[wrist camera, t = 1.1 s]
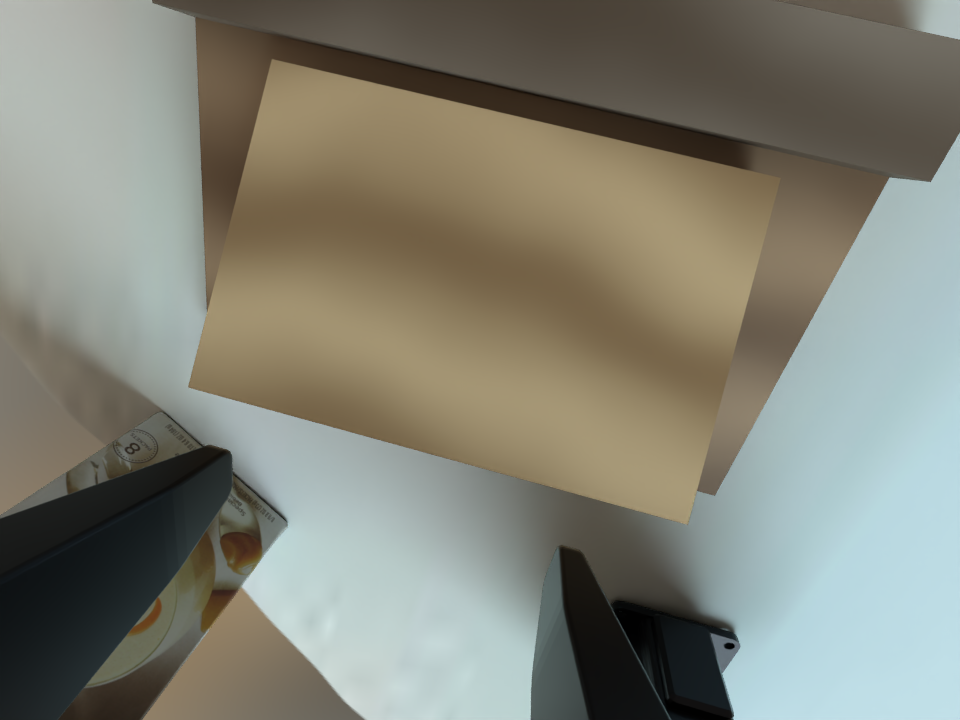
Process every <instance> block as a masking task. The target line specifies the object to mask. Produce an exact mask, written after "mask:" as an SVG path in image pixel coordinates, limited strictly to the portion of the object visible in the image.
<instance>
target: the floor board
mask: <svg viewBox="0 0 960 720" xmlns="http://www.w3.org/2000/svg"><path fill="white" fill-rule="evenodd" d="M152 2H153V3H155V4H158V5H161V6H164V7H167V8H170V9H173V10H176V11H179V12H182V13H185V14H188V15H191V16H194V17H195V19H196V44H197V69H198V95H199V120H200V145H201V170H202V196H203V221H204V246H205V271H206V296H207V311H208V307H209V303H210V300H211V296H212V292H213V288H214V284H215V280H216V276H217V272H218V268H219V264H220V260H221V256H222V253H223V249H224V245H225V241H226V237H227V233H228V229H229V225H230V221H231V217H232V213H233V209H234V205H235V202H236V198H237V194H238V190H239V186H240V182H241V178H242V174H243V170H244V166H245V162H246V158H247V155H248V151H249V147H250V143H251V139H252V135H253V131H254V127H255V123H256V119H257V115H258V111H259V108H260V104H261V100H262V96H263V92H264V88H265V84H266V80H267V76H268V72H269V68H270V64H271V61H272V59H274V60H278V61H282V62H286V63H291V64H295V65H299V66H304V67H308V68H312V69H316V70H321V71H325V72H329V73H334V74H338V75H342V76H346V77H351V78H355V79H359V80H363V81H368V82H372V83H376V84H381V85H385V86H389V87H393V88H398V89H402V90H406V91H411V92H415V93H419V94H423V95H428V96H432V97H436V98H441V99H445V100H449V101H453V102H458V103H462V104H466V105H471V106H475V107H479V108H483V109H488V110H492V111H496V112H500V113H505V114H509V115H513V116H518V117H522V118H526V119H530V120H535V121H539V122H543V123H548V124H552V125H556V126H560V127H565V128H569V129H573V130H578V131H582V132H586V133H590V134H595V135H599V136H603V137H608V138H612V139H616V140H620V141H625V142H629V143H633V144H637V145H642V146H646V147H650V148H655V149H659V150H663V151H667V152H672V153H676V154H680V155H685V156H689V157H693V158H697V159H702V160H706V161H710V162H715V163H719V164H723V165H727V166H732V167H736V168H740V169H745V170H749V171H753V172H757V173H762V174H766V175H770V176H774V177H779V178H781V179H780V183H779V186H778V190H777V194H776V198H775V201H774V205H773V209H772V213H771V216H770V220H769V224H768V228H767V231H766V235H765V239H764V242H763V246H762V250H761V254H760V257H759V261H758V265H757V269H756V272H755V276H754V280H753V283H752V287H751V291H750V295H749V298H748V302H747V306H746V310H745V313H744V317H743V321H742V325H741V328H740V332H739V336H738V339H737V343H736V347H735V351H734V354H733V358H732V362H731V366H730V369H729V373H728V377H727V380H726V384H725V388H724V392H723V395H722V399H721V403H720V407H719V410H718V414H717V418H716V421H715V425H714V429H713V433H712V436H711V440H710V444H709V448H708V451H707V455H706V459H705V463H704V466H703V470H702V474H701V477H700V481H699V485H698V489H697V491H700V492H703V493H707V494H711V495H714V496H715V494H716V493H717V491H718V489H719V487H720V485H721V483H722V482H723V480H724V478H725V476H726V474H727V472H728V471H729V469H730V467H731V465H732V463H733V462H734V460H735V458H736V456H737V454H738V452H739V451H740V449H741V447H742V445H743V443H744V441H745V440H746V438H747V436H748V434H749V432H750V431H751V429H752V427H753V425H754V423H755V421H756V420H757V418H758V416H759V414H760V412H761V410H762V409H763V407H764V405H765V403H766V401H767V400H768V398H769V396H770V394H771V392H772V390H773V389H774V387H775V385H776V383H777V381H778V379H779V378H780V376H781V374H782V372H783V370H784V369H785V367H786V365H787V363H788V361H789V359H790V358H791V356H792V354H793V352H794V350H795V348H796V347H797V345H798V343H799V341H800V339H801V338H802V336H803V334H804V332H805V330H806V328H807V327H808V325H809V323H810V321H811V319H812V318H813V316H814V314H815V312H816V310H817V308H818V307H819V305H820V303H821V301H822V299H823V297H824V296H825V294H826V292H827V290H828V288H829V287H830V285H831V283H832V281H833V279H834V277H835V276H836V274H837V272H838V270H839V268H840V266H841V265H842V263H843V261H844V259H845V257H846V256H847V254H848V252H849V250H850V248H851V246H852V245H853V243H854V241H855V239H856V237H857V235H858V234H859V232H860V230H861V228H862V226H863V225H864V223H865V221H866V219H867V217H868V215H869V214H870V212H871V210H872V208H873V206H874V204H875V203H876V201H877V199H878V197H879V195H880V194H881V192H882V190H883V188H884V186H885V184H886V183H887V181H888V179H889V177H892V178H901V179H910V180H919V181H928V182H931V180H932V179H933V177H934V175H935V174H936V172H937V170H938V169H939V167H940V165H941V163H942V162H943V160H944V158H945V157H946V155H947V153H948V151H949V150H950V148H951V146H952V145H953V143H954V141H955V140H956V138H957V136H958V134H959V133H960V40H958V39H954V38H949V37H944V36H940V35H935V34H930V33H926V32H921V31H916V30H912V29H907V28H902V27H898V26H893V25H888V24H884V23H879V22H874V21H869V20H865V19H860V18H855V17H851V16H846V15H841V14H837V13H832V12H827V11H823V10H818V9H813V8H809V7H804V6H799V5H795V4H790V3H785V2H781V1H776V0H152Z"/></svg>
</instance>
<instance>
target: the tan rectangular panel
mask: <svg viewBox="0 0 960 720" xmlns="http://www.w3.org/2000/svg"><path fill="white" fill-rule="evenodd" d="M780 179H781V178H779V177H774V176H770V175H766V174H762V173H757V172H753V171H749V170H745V169H740V168H736V167H732V166H727V165H723V164H719V163H715V162H710V161H706V160H702V159H697V158H693V157H689V156H685V155H680V154H676V153H672V152H667V151H663V150H659V149H655V148H650V147H646V146H642V145H637V144H633V143H629V142H625V141H620V140H616V139H612V138H608V137H603V136H599V135H595V134H590V133H586V132H582V131H578V130H573V129H569V128H565V127H560V126H556V125H552V124H548V123H543V122H539V121H535V120H530V119H526V118H522V117H518V116H513V115H509V114H505V113H500V112H496V111H492V110H488V109H483V108H479V107H475V106H471V105H466V104H462V103H458V102H453V101H449V100H445V99H441V98H436V97H432V96H428V95H423V94H419V93H415V92H411V91H406V90H402V89H398V88H393V87H389V86H385V85H381V84H376V83H372V82H368V81H363V80H359V79H355V78H351V77H346V76H342V75H338V74H334V73H329V72H325V71H321V70H316V69H312V68H308V67H304V66H299V65H295V64H291V63H286V62H282V61H278V60H274V59H272V61H271V64H270V68H269V72H268V76H267V80H266V84H265V88H264V92H263V96H262V100H261V104H260V108H259V111H258V115H257V119H256V123H255V127H254V131H253V135H252V139H251V143H250V147H249V151H248V155H247V158H246V162H245V166H244V170H243V174H242V178H241V182H240V186H239V190H238V194H237V198H236V202H235V205H234V209H233V213H232V217H231V221H230V225H229V229H228V233H227V237H226V241H225V245H224V249H223V253H222V256H221V260H220V264H219V268H218V272H217V276H216V280H215V284H214V288H213V292H212V296H211V300H210V303H209V307H208V311H207V315H206V319H205V323H204V327H203V331H202V335H201V339H200V343H199V347H198V350H197V354H196V358H195V362H194V366H193V370H192V374H191V378H190V382H189V386H188V387H189V388H193V389H196V390H200V391H203V392H207V393H211V394H214V395H218V396H222V397H225V398H229V399H232V400H236V401H240V402H243V403H247V404H251V405H254V406H258V407H262V408H265V409H269V410H272V411H276V412H280V413H283V414H287V415H291V416H294V417H298V418H302V419H305V420H309V421H312V422H316V423H320V424H323V425H327V426H331V427H334V428H338V429H342V430H345V431H349V432H352V433H356V434H360V435H363V436H367V437H371V438H374V439H378V440H382V441H385V442H389V443H392V444H396V445H400V446H403V447H407V448H411V449H414V450H418V451H421V452H425V453H429V454H432V455H436V456H440V457H443V458H447V459H451V460H454V461H458V462H461V463H465V464H469V465H472V466H476V467H480V468H483V469H487V470H491V471H494V472H498V473H501V474H505V475H509V476H512V477H516V478H520V479H523V480H527V481H531V482H534V483H538V484H541V485H545V486H549V487H552V488H556V489H560V490H563V491H567V492H571V493H574V494H578V495H581V496H585V497H589V498H592V499H596V500H600V501H603V502H607V503H610V504H614V505H618V506H621V507H625V508H629V509H632V510H636V511H640V512H643V513H647V514H650V515H654V516H658V517H661V518H665V519H669V520H672V521H676V522H680V523H683V524H687V525H688V522H689V518H690V515H691V511H692V507H693V504H694V500H695V496H696V492H697V489H698V485H699V481H700V477H701V474H702V470H703V466H704V463H705V459H706V455H707V451H708V448H709V444H710V440H711V436H712V433H713V429H714V425H715V421H716V418H717V414H718V410H719V407H720V403H721V399H722V395H723V392H724V388H725V384H726V380H727V377H728V373H729V369H730V366H731V362H732V358H733V354H734V351H735V347H736V343H737V339H738V336H739V332H740V328H741V325H742V321H743V317H744V313H745V310H746V306H747V302H748V298H749V295H750V291H751V287H752V283H753V280H754V276H755V272H756V269H757V265H758V261H759V257H760V254H761V250H762V246H763V242H764V239H765V235H766V231H767V228H768V224H769V220H770V216H771V213H772V209H773V205H774V201H775V198H776V194H777V190H778V186H779V183H780Z"/></svg>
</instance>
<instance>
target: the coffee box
mask: <svg viewBox="0 0 960 720" xmlns="http://www.w3.org/2000/svg"><path fill="white" fill-rule="evenodd" d="M200 447H202V446H201V445H200V444H198V443H197V442H196V441H195V440H194V439H193V438H192V437H190V436H189V435H188V434H187V433H186V432H185V431H184V430H183V429H181V428H180V427H179V426H178V425H177V424H176V423H175V422H174V421H172V420H171V419H170V418H169V417H168V416H167V415H165V414H164V413H163V412H158V413H156V414H154V415H153V416H152V417H150V418H149V419H147V420H146V421H144V422H143V423H141V424H139V425H138V426H136V427H135V428H133V429H132V430H130V431H129V432H127V433H126V434H124V435H123V436H121V437H120V438H118V439H117V440H115V441H114V442H112V443H111V444H109V445H107V446H106V447H104V448H103V449H101V450H100V451H98V452H97V453H95V454H93V455H92V456H90V457H89V458H88V459H86V460H84V461H83V462H81V463H80V464H78V465H77V466H75V467H74V468H72V469H71V470H69V471H67V472H66V473H64V474H63V475H61V476H60V477H58V478H56V479H55V480H53V481H52V482H50V483H49V484H47V485H46V486H44V487H43V488H41V489H39V490H38V491H36V492H35V493H33V494H32V495H31V496H29V497H28V498H26V499H24V500H23V501H21V502H20V503H18V504H17V505H15V506H14V507H12V508H11V509H9V510H8V511H6V512H5V513H3V514H1V515H0V518H2V517H5V516H8V515H11V514H14V513H16V512H19V511H22V510H25V509H28V508H31V507H33V506H36V505H39V504H42V503H45V502H48V501H50V500H53V499H56V498H59V497H62V496H65V495H67V494H70V493H73V492H76V491H79V490H82V489H84V488H87V487H90V486H93V485H96V484H98V483H101V482H104V481H107V480H110V479H113V478H115V477H118V476H121V475H124V474H127V473H130V472H132V471H135V470H138V469H141V468H144V467H147V466H149V465H152V464H155V463H158V462H161V461H163V460H166V459H169V458H172V457H175V456H178V455H180V454H183V453H186V452H189V451H192V450H195V449H197V448H200ZM232 479H233V484H232V490H231V492H230V495H229V497H228V498H227V500H226V501H225V503H224V504H223V506H222V507H221V509H220V510H219V512H218V514H217V515H216V517H215V518H214V520H213V521H212V523H211V524H210V526H209V527H208V529H207V530H206V532H205V533H204V535H203V536H202V538H201V539H200V541H199V542H198V544H197V545H196V547H195V548H194V550H193V551H192V553H191V554H190V556H189V557H188V559H187V560H186V562H185V563H184V564H183V566H182V567H181V569H180V570H179V571H178V573H177V574H176V575H175V577H174V578H173V579H172V580H171V582H170V583H169V584H168V585H167V587H166V588H165V589H164V590H163V592H162V593H161V594H160V595H159V596H158V598H157V599H156V600H155V601H154V603H153V604H152V605H151V606H150V607H149V609H148V610H147V611H146V612H145V614H144V615H143V616H142V617H141V618H140V620H139V621H138V622H137V623H136V625H135V626H134V627H133V628H132V630H131V631H130V632H129V633H128V634H127V636H126V637H125V638H124V639H123V641H122V642H121V643H120V644H119V645H118V647H117V648H116V649H115V650H114V652H113V653H112V654H111V655H110V656H109V658H108V659H107V660H106V661H105V663H104V664H103V665H102V666H101V668H100V669H99V670H98V671H97V672H96V674H95V675H94V676H93V677H92V679H91V680H90V681H89V682H88V683H87V685H86V686H85V687H84V688H83V690H82V691H81V692H80V693H79V695H78V696H77V697H76V698H75V699H74V701H73V702H72V703H71V704H70V706H69V707H68V708H67V709H66V710H65V712H64V713H63V714H62V715H61V717H60V718H59V719H58V720H142V719H143V718H144V716H145V715H146V714H147V712H148V711H149V710H150V708H151V707H152V706H153V704H154V703H155V702H156V700H157V699H158V697H159V696H160V695H161V693H162V692H163V691H164V689H165V688H166V687H167V686H168V684H169V683H170V681H171V680H172V679H173V677H174V676H175V675H176V673H177V672H178V671H179V669H180V668H181V667H182V665H183V664H184V663H185V661H186V660H187V659H188V657H189V656H190V655H191V653H192V652H193V651H194V649H195V648H196V647H197V645H198V644H199V643H200V642H201V640H202V639H203V638H204V636H205V635H206V634H207V632H208V631H209V630H210V628H211V627H212V625H213V624H214V623H215V621H216V620H217V619H218V617H219V616H220V615H221V613H222V612H223V611H224V609H225V608H226V607H227V605H228V604H229V603H230V601H231V600H232V599H233V598H234V596H235V595H236V593H237V592H238V591H239V589H240V588H241V586H242V585H243V584H244V582H245V581H246V580H247V578H248V577H249V576H250V574H251V573H252V571H253V570H254V569H255V567H256V566H257V565H258V563H259V562H260V560H261V559H262V558H263V556H264V555H265V554H266V552H267V551H268V550H269V549H270V547H271V546H272V545H273V543H274V542H275V541H276V540H277V538H278V537H279V536H280V535H281V534H282V533H283V532H284V531H285V530H286V528H287V527H288V525H287V522H286V521H285V520H284V519H282V518H281V517H280V516H279V515H278V514H277V513H276V512H275V511H273V510H272V509H271V508H270V507H269V506H268V505H267V504H266V503H265V502H263V501H262V500H261V499H260V498H259V497H258V496H257V495H256V494H255V493H253V492H252V491H251V490H250V489H249V488H248V487H247V486H246V485H244V484H243V483H242V482H241V481H240V480H239V479H238V478H236V477H235V476H234V475H233V474H232Z"/></svg>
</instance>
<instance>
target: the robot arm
mask: <svg viewBox="0 0 960 720" xmlns="http://www.w3.org/2000/svg"><path fill="white" fill-rule="evenodd" d="M232 484H233V479H232V454H231V452H230V451H228V450H226V449H223V448H219V447H216V446H212V445H207V446H203V447H200V448H197V449H195V450H192V451H189V452H186V453H183V454H180V455H178V456H175V457H172V458H169V459H166V460H163V461H161V462H158V463H155V464H152V465H149V466H147V467H144V468H141V469H138V470H135V471H132V472H130V473H127V474H124V475H121V476H118V477H115V478H113V479H110V480H107V481H104V482H101V483H98V484H96V485H93V486H90V487H87V488H84V489H82V490H79V491H76V492H73V493H70V494H67V495H65V496H62V497H59V498H56V499H53V500H50V501H48V502H45V503H42V504H39V505H36V506H33V507H31V508H28V509H25V510H22V511H19V512H16V513H14V514H11V515H8V516H5V517H2V518H0V720H58V719H59V718H60V717H61V715H62V714H63V713H64V712H65V710H66V709H67V708H68V707H69V706H70V704H71V703H72V702H73V701H74V699H75V698H76V697H77V696H78V695H79V693H80V692H81V691H82V690H83V688H84V687H85V686H86V685H87V683H88V682H89V681H90V680H91V679H92V677H93V676H94V675H95V674H96V672H97V671H98V670H99V669H100V668H101V666H102V665H103V664H104V663H105V661H106V660H107V659H108V658H109V656H110V655H111V654H112V653H113V652H114V650H115V649H116V648H117V647H118V645H119V644H120V643H121V642H122V641H123V639H124V638H125V637H126V636H127V634H128V633H129V632H130V631H131V630H132V628H133V627H134V626H135V625H136V623H137V622H138V621H139V620H140V618H141V617H142V616H143V615H144V614H145V612H146V611H147V610H148V609H149V607H150V606H151V605H152V604H153V603H154V601H155V600H156V599H157V598H158V596H159V595H160V594H161V593H162V592H163V590H164V589H165V588H166V587H167V585H168V584H169V583H170V582H171V580H172V579H173V578H174V577H175V575H176V574H177V573H178V571H179V570H180V569H181V567H182V566H183V564H184V563H185V562H186V560H187V559H188V557H189V556H190V554H191V553H192V551H193V550H194V548H195V547H196V545H197V544H198V542H199V541H200V539H201V538H202V536H203V535H204V533H205V532H206V530H207V529H208V527H209V526H210V524H211V523H212V521H213V520H214V518H215V517H216V515H217V514H218V512H219V510H220V509H221V507H222V506H223V504H224V503H225V501H226V500H227V498H228V497H229V495H230V492H231V490H232ZM619 611H622V612H619ZM739 648H740V644H739V641H738V638H737V636H736V635H735V634H734V633H731V632H728V631H724V630H721V629H717V628H714V627H710V626H707V625H703V624H700V623H696V622H693V621H689V620H686V619H682V618H679V617H676V616H672V615H669V614H665V613H662V612H658V611H655V610H651V609H648V608H644V607H641V606H637V605H634V604H630V603H627V602H623V601H616V602H614V603H612V604H611V605H610V604H609V602H608V600H607V598H606V596H605V594H604V592H603V590H602V588H601V587H600V585H599V583H598V581H597V579H596V577H595V575H594V573H593V571H592V570H591V568H590V566H589V564H588V562H587V560H586V558H585V556H584V554H583V553H582V552H581V551H580V550H577V549H574V548H570V547H567V546H563V545H561V546H558V547H557V549H556V551H555V554H554V556H553V559H552V561H551V564H550V566H549V569H548V572H547V574H546V577H545V581H544V585H543V591H542V599H541V607H540V615H539V622H538V630H537V638H536V646H535V654H534V662H533V672H532V687H531V720H733V717H734V712H733V709H732V705H731V702H730V699H729V695H728V692H727V688H726V685H725V682H724V678H723V675H722V673H723V671H724V670H725V669H726V667H727V666H728V664H729V663H730V661H731V660H732V659H733V657H734V656H735V654H736V653H737V651H738V650H739Z"/></svg>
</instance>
